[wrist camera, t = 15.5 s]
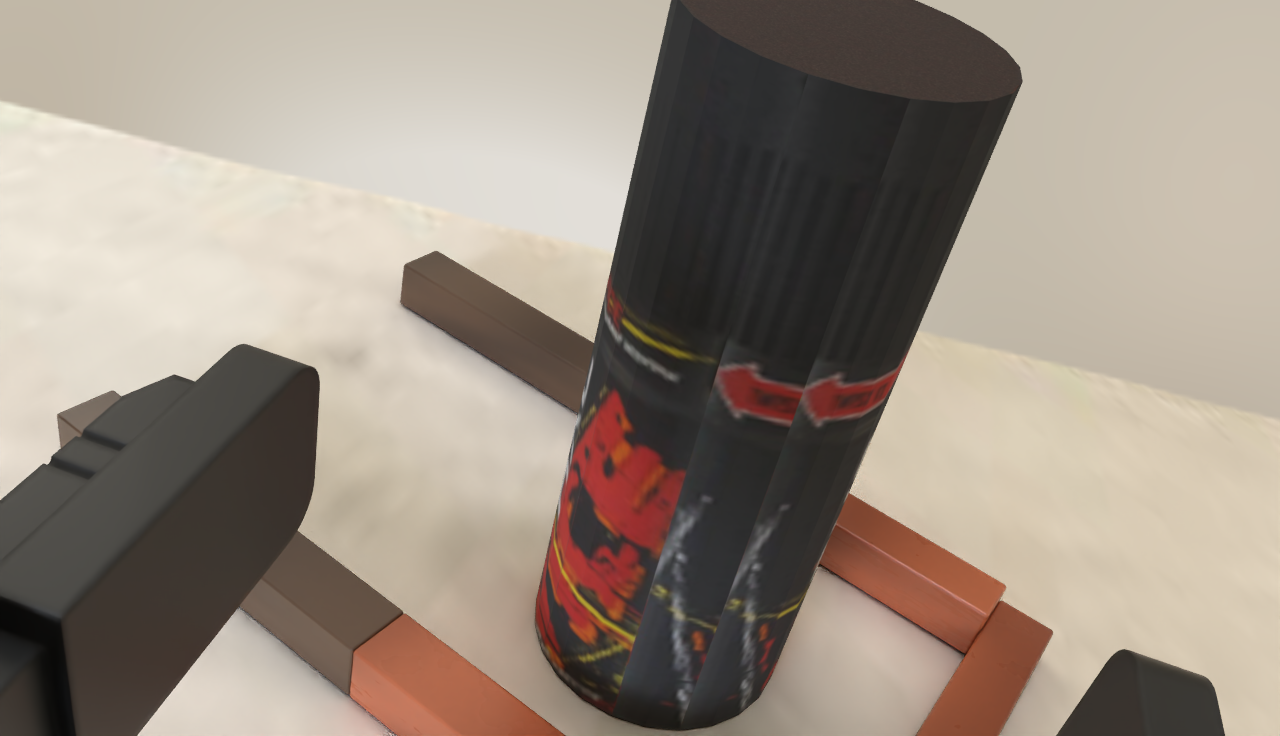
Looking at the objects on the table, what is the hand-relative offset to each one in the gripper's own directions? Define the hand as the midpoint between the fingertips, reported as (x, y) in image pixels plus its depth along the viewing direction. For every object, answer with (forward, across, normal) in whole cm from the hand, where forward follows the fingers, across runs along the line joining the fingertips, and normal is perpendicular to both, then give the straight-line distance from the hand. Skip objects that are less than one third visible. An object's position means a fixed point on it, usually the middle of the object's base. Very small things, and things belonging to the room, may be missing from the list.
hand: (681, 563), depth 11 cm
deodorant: (+11, 0, +13) cm, 17 cm away
